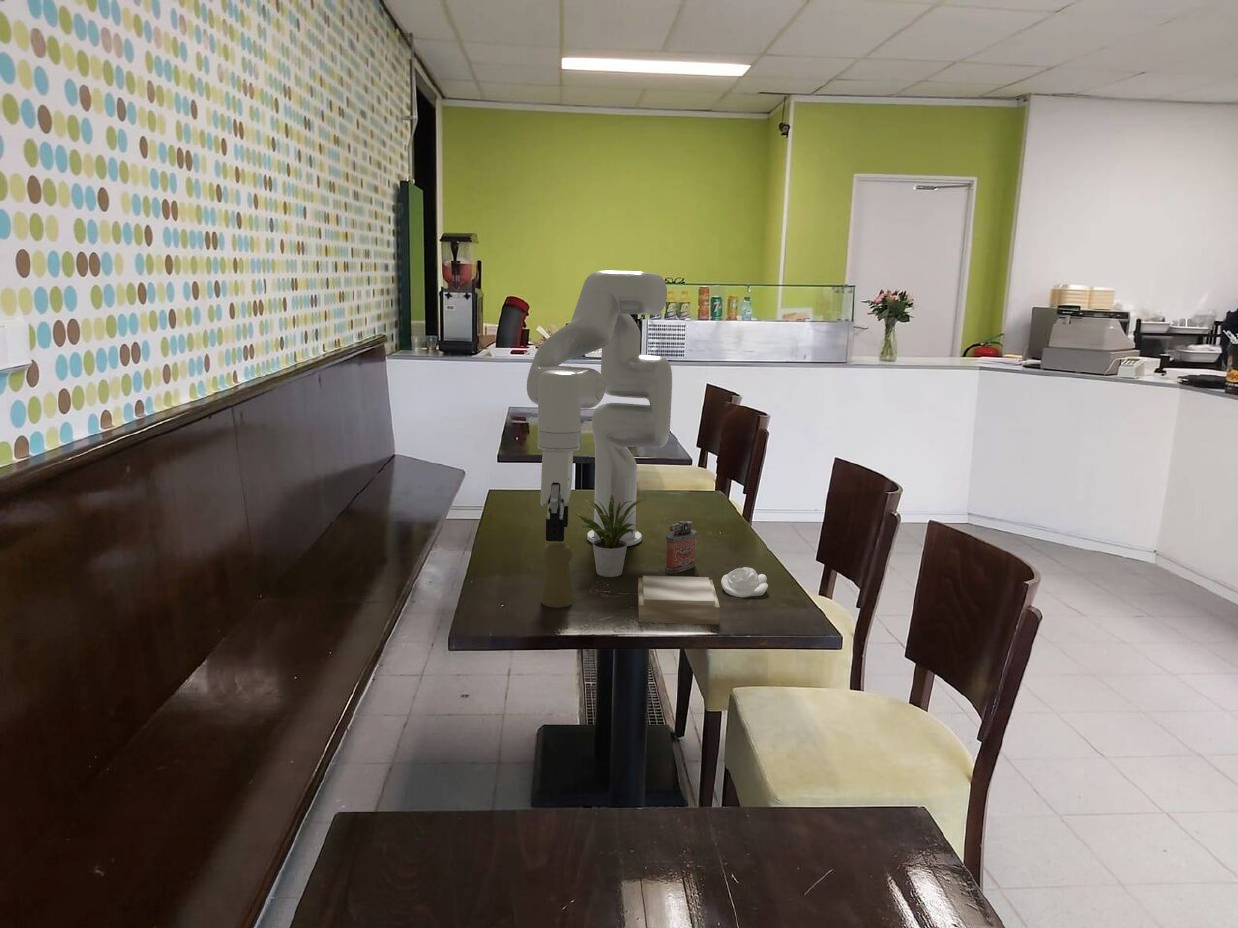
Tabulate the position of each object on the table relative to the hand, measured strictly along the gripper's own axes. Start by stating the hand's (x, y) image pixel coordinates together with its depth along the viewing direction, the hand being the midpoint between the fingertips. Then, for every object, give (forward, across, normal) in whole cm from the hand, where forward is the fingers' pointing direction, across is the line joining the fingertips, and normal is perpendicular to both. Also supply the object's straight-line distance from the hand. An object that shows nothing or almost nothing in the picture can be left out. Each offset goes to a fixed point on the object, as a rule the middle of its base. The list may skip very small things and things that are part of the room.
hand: (557, 533), depth 156 cm
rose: (+13, -10, +36) cm, 40 cm away
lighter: (+13, -22, +24) cm, 35 cm away
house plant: (+13, -19, +10) cm, 25 cm away
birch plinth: (+13, +1, +22) cm, 26 cm away
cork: (+14, -1, 0) cm, 14 cm away
